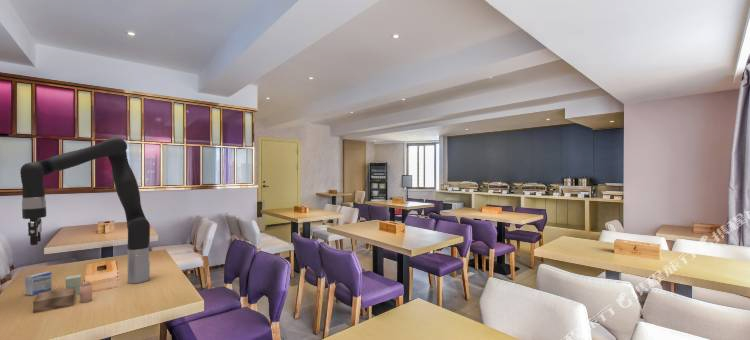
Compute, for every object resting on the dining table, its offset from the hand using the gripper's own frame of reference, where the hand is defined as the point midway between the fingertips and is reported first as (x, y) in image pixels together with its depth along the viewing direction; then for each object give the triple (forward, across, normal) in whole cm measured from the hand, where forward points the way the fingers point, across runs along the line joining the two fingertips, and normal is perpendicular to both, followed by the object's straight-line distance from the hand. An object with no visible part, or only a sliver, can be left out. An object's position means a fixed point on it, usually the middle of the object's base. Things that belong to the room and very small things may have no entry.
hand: (35, 243), depth 149 cm
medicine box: (+25, +11, +1) cm, 28 cm away
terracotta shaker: (+26, -17, -17) cm, 35 cm away
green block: (+26, -2, -12) cm, 28 cm away
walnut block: (+26, -14, -7) cm, 30 cm away
